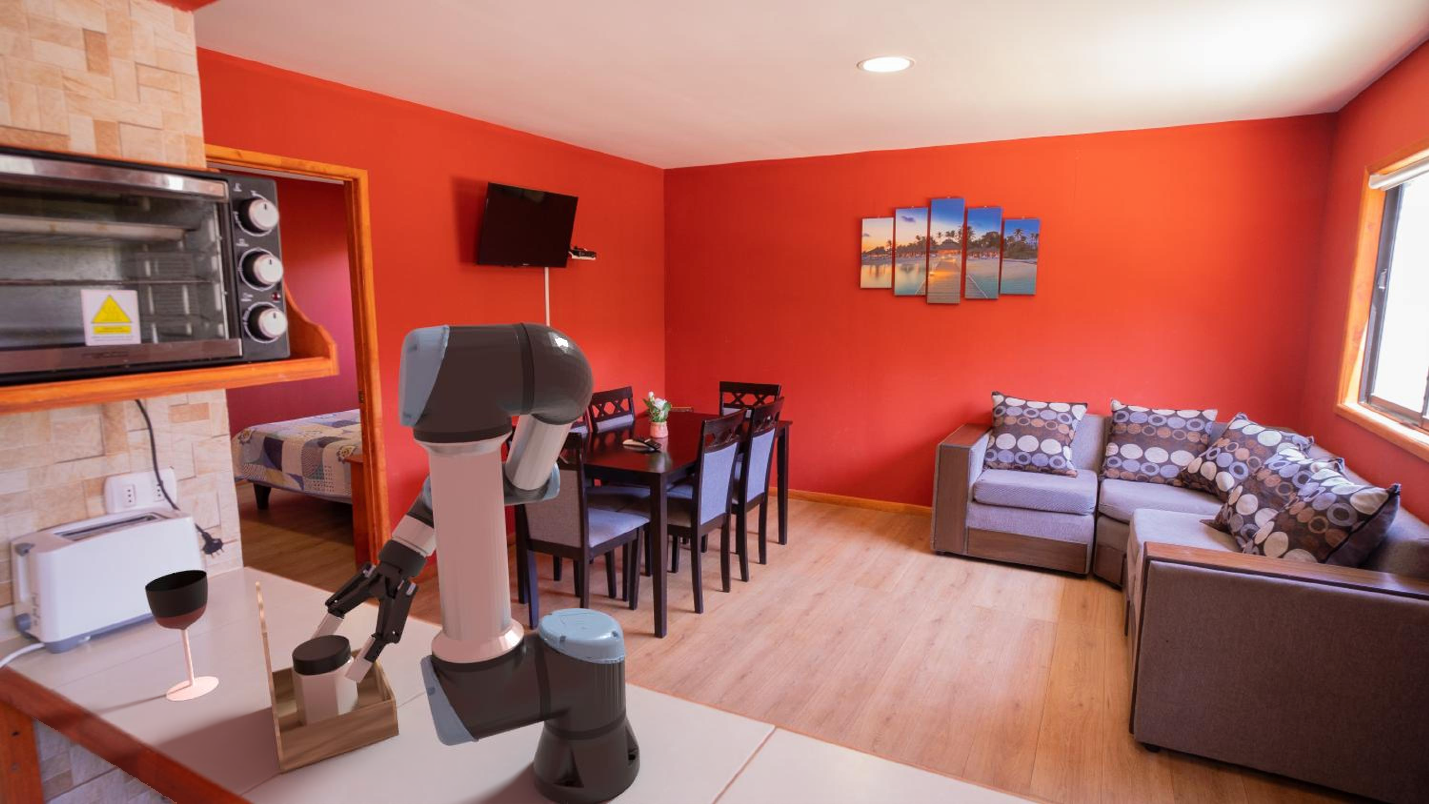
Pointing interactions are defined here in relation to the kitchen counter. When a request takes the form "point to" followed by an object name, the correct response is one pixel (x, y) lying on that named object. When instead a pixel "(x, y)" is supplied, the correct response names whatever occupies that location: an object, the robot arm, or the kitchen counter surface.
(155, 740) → the kitchen counter surface
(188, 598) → the wineglass
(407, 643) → the kitchen counter surface
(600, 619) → the robot arm
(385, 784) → the kitchen counter surface
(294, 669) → the jar
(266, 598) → the kitchen counter surface
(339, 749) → the open wooden box
